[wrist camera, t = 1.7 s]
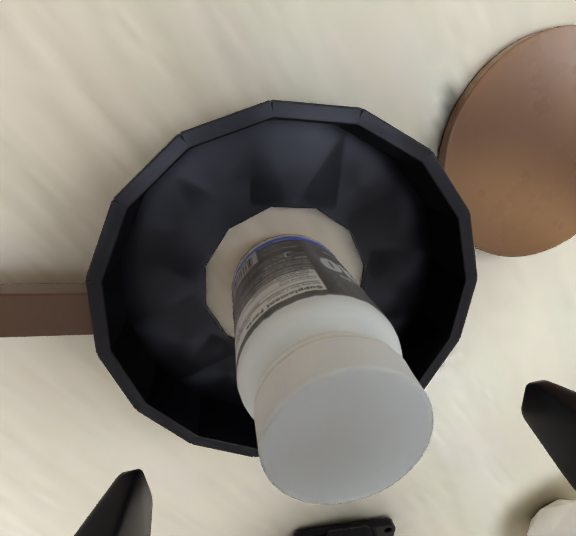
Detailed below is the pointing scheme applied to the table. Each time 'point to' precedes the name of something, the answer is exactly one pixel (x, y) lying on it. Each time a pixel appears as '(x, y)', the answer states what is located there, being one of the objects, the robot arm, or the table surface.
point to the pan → (233, 210)
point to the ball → (555, 520)
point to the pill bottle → (323, 376)
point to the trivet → (518, 146)
